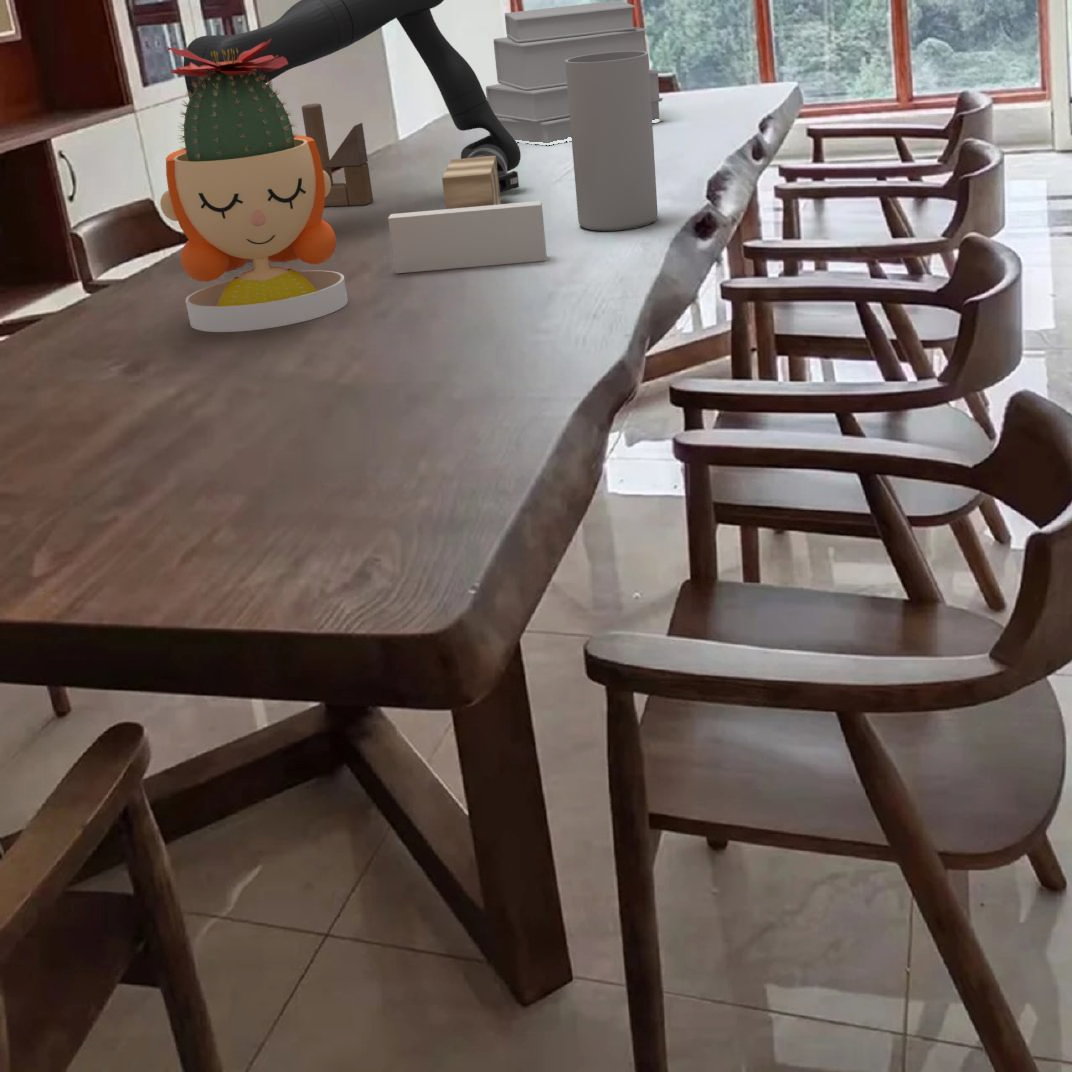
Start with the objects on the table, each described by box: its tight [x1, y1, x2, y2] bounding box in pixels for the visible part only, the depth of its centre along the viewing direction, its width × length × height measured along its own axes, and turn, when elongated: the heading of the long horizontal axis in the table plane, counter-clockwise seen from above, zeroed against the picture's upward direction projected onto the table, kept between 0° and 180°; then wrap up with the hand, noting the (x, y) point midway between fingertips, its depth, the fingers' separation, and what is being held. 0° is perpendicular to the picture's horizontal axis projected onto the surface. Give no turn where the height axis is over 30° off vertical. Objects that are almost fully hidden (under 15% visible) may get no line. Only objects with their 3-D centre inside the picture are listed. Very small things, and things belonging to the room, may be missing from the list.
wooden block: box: [301, 102, 374, 208], centre depth 253 cm, size 4×11×18 cm, turn 73°
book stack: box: [485, 0, 664, 143], centre depth 307 cm, size 30×35×26 cm
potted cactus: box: [159, 39, 349, 333], centre depth 184 cm, size 22×22×35 cm
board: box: [387, 200, 548, 274], centre depth 202 cm, size 3×22×8 cm, turn 87°
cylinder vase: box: [565, 51, 659, 232], centre depth 214 cm, size 12×12×25 cm
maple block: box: [441, 156, 502, 209], centre depth 212 cm, size 16×7×12 cm, turn 178°
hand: (476, 193), depth 219 cm, fingers closed
